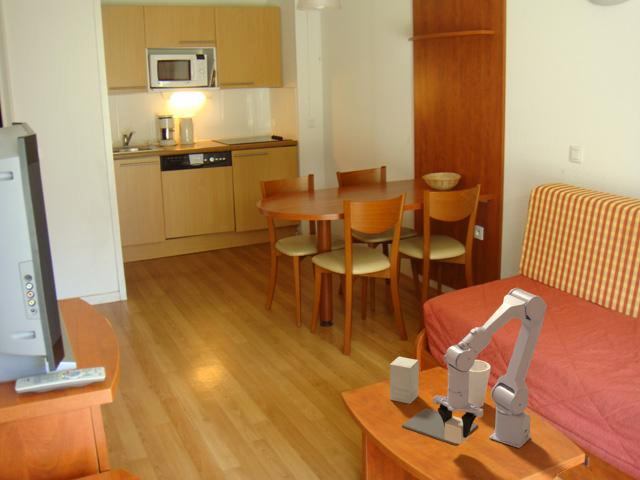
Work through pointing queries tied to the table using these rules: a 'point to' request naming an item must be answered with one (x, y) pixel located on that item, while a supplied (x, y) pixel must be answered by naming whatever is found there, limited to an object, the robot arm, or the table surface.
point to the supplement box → (404, 380)
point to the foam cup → (478, 382)
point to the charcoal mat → (430, 424)
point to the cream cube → (454, 430)
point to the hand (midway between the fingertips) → (457, 433)
